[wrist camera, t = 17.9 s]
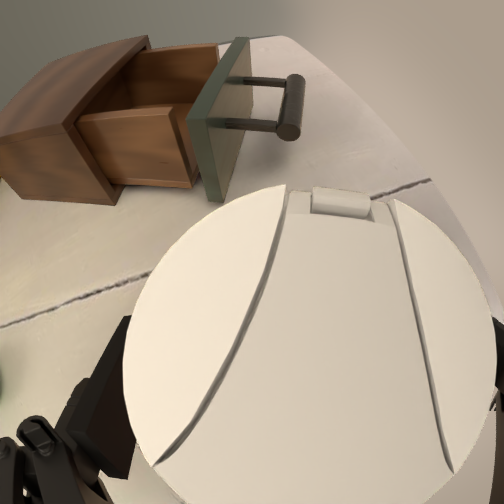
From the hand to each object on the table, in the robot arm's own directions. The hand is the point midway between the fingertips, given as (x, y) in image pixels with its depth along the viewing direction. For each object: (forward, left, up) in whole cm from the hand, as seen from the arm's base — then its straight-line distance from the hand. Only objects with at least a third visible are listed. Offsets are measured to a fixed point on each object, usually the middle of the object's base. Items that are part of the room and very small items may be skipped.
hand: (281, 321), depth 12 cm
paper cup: (+1, +2, -6) cm, 7 cm away
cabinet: (+5, -27, -6) cm, 28 cm away
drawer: (-4, -18, -5) cm, 19 cm away
